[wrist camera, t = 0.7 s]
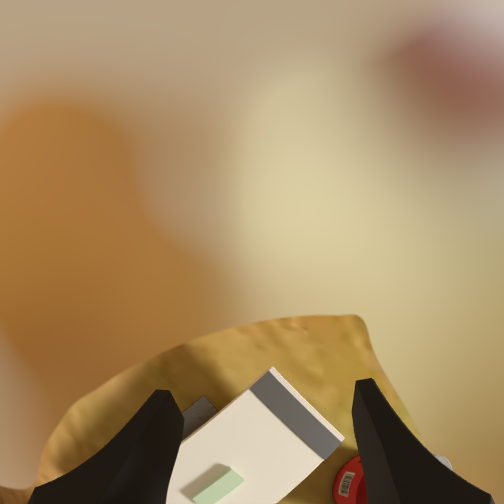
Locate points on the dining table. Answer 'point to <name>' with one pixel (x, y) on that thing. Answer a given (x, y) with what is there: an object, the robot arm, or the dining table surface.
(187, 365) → the dining table surface
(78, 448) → the dining table surface
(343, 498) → the canned food
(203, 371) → the dining table surface
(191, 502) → the leveling board
